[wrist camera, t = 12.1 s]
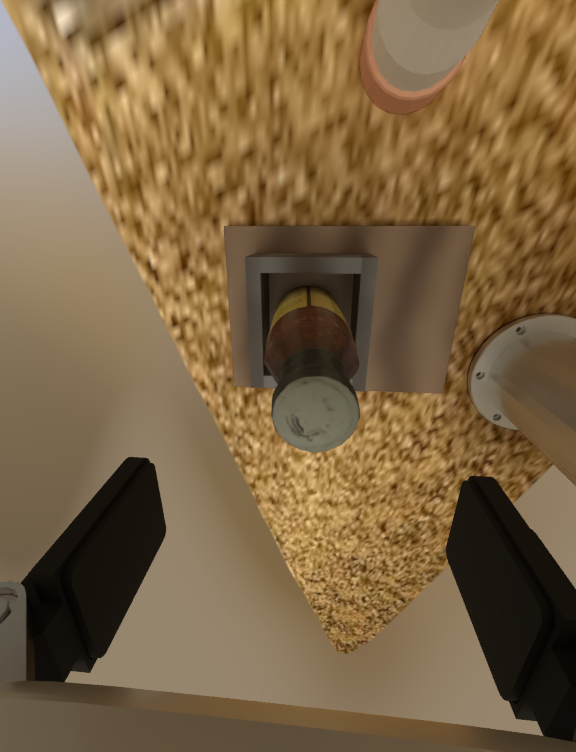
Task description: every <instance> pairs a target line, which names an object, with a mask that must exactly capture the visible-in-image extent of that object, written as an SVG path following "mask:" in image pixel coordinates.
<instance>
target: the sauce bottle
mask: <svg viewBox="0 0 576 752" xmlns="http://www.w3.org/2000/svg"><path fill="white" fill-rule="evenodd" d="M264 364H265V365H266V367H267V368H268V370H269V372H270V373H271V375H272V377H273V378H274V380H275V381H276V383H277V384H278V385H277V387H276V388H275V390H274V393H273V397H272V419H273V424H274V427H275V429H276V431H277V432H278V434H279V435H280V436H281V437H282V438H283V439H284V440H285V441H286V442H288V443H289V444H290V445H292V446H294V447H296V448H298V449H300V450H305V451H309V452H323V451H328V450H330V449H332V448H335V447H337V446H339V445H341V444H343V443H344V442H345V441H346V440H347V439H348V438H349V437H350V436H351V435H352V434H353V432H354V430H355V429H356V427H357V423H358V421H359V417H360V409H359V403H358V399H357V396H356V392H355V390H354V387H353V386H352V385H351V382H350V379H351V378H352V377H353V376H354V375H355V374H356V372H357V371H358V369H359V359H358V354H357V349H356V344H355V342H354V339H353V336H352V333H351V331H350V329H349V327H348V325H347V323H346V320H345V318H344V316H343V314H342V312H341V310H340V309H339V307H338V305H337V303H336V301H335V300H334V299H333V298H332V297H331V296H330V295H329V293H327V292H325V291H323V290H321V289H319V288H315V287H310V286H302V287H298V288H296V289H294V290H293V291H291V292H289V293H288V294H286V295H285V296H284V297H283V298H282V300H281V301H280V303H279V304H278V306H277V308H276V311H275V314H274V318H273V321H272V325H271V328H270V332H269V335H268V338H267V343H266V352H265V357H264Z"/></svg>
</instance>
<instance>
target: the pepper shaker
mask: <svg viewBox="0 0 576 752" xmlns="http://www.w3.org/2000/svg"><path fill="white" fill-rule="evenodd" d="M498 1H499V0H376V1H375V4H374V6H373V9H372V11H371V14H370V16H369V19H368V22H367V26H366V30H365V34H364V39H363V43H362V49H361V56H360V71H361V80H362V83H363V85H364V88H365V90H366V93H367V95H368V96H369V97H370V99H371V100H372V101H373V102H374V103H375V104H376V106H377V107H379V108H381V109H383V110H385V111H387V112H389V113H394V114H407V113H411V112H414V111H418V110H419V109H421V108H422V107H424V106H426V105H427V104H429V103H430V102H432V100H433V99H434V98H435V97H436V96H437V95H438V94H439V93H440V91H441V90H442V89H443V88H444V87H445V86H446V85H447V84H448V82H449V81H450V80H451V79H452V78H453V77H454V75H455V74H456V73H457V72H458V71H459V69H460V67H461V65H462V63H463V61H464V59H465V57H466V55H467V53H468V52H469V51H470V50H471V49H472V47H473V46H474V45H475V44H476V43H477V42H478V40H479V38H480V36H481V34H482V32H483V30H484V28H485V26H486V24H487V22H488V21H489V19H490V17H491V15H492V13H493V11H494V9H495V7H496V5H497V3H498Z"/></svg>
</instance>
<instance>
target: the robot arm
mask: <svg viewBox="0 0 576 752" xmlns="http://www.w3.org/2000/svg"><path fill="white" fill-rule="evenodd" d="M517 328H518V329H517ZM477 373H478V374H477ZM467 386H468V392H469V396H470V398H471V401H472V403H473V404H474V406H475V407H476V408H477V410H478V411H479V412H480V413H481V414H482V415H483V416H484V417H485V418H486V419H487V420H489V421H490V422H492V423H493V424H496V425H498V426H501V427H503V428H508V429H513V430H520V431H521V432H522V433H523V434H524V435H525V436H526V437H527V438H528V439H529V440H530V441H531V442H532V443H533V444H534V445H535V446H536V447H537V448H538V449H539V450H540V451H541V452H542V453H543V454H544V455H545V456H546V457H547V458H548V459H549V460H550V461H551V462H552V463H553V464H554V465H555V466H556V467H557V468H558V469H559V470H560V471H561V472H562V473H563V474H564V475H565V476H566V477H567V478H568V479H569V480H570V481H571V482H572V483H573V484H574V485H575V486H576V319H575V318H572V317H569V316H565V315H560V314H537V315H531V316H527V317H524V318H521V319H518V320H516V321H514V322H512V323H510V324H508V325H506V326H504V327H502V328H501V329H500V330H498V331H497V332H495V333H494V334H493V335H492V336H491V337H490V338H489V339H488V340H487V341H486V342H485V343H484V344H483V345H482V346H481V348H480V349H479V350H478V352H477V353H476V355H475V357H474V359H473V361H472V363H471V366H470V369H469V373H468V383H467ZM165 533H166V524H165V520H164V514H163V508H162V502H161V497H160V492H159V486H158V481H157V475H156V470H155V466H154V464H153V463H150V461H149V459H147V458H138V457H128V458H127V459H126V460H125V461H124V462H123V463H122V464H121V465H120V467H119V468H118V469H117V470H116V471H115V472H114V474H113V475H112V476H111V477H110V478H109V479H108V481H107V482H106V483H105V484H104V485H103V487H102V488H101V489H100V490H99V491H98V492H97V494H96V495H95V496H94V497H93V498H92V500H91V501H90V502H89V503H88V504H87V505H86V506H85V508H84V509H83V510H82V511H81V512H80V514H79V515H78V516H77V517H76V518H75V519H74V521H73V522H72V523H71V524H70V525H69V526H68V528H67V529H66V530H65V531H64V533H63V534H62V535H61V536H60V537H59V538H58V539H57V540H56V542H55V543H54V544H53V545H52V546H51V548H50V549H49V550H48V551H47V552H46V553H45V555H44V556H43V557H42V558H41V559H40V560H39V562H38V563H37V564H36V565H35V566H34V567H33V569H32V570H31V571H30V572H29V573H28V575H27V576H26V577H25V579H24V580H23V581H22V582H21V583H19V582H14V581H6V582H0V752H576V589H575V588H574V586H573V585H572V583H571V582H570V581H569V579H568V578H567V576H566V575H565V574H564V572H563V571H562V569H561V568H560V567H559V565H558V564H557V562H556V561H555V560H554V558H553V557H552V555H551V554H550V553H549V551H548V550H547V548H546V547H545V546H544V544H543V543H542V541H541V540H540V539H539V538H538V536H537V534H536V533H535V532H534V531H533V530H532V529H530V528H529V527H528V525H527V524H526V522H525V521H524V519H523V518H522V517H521V515H520V514H519V512H518V511H517V509H516V508H515V507H514V505H513V504H512V502H511V501H510V499H509V498H508V497H507V495H506V494H505V492H504V491H503V490H502V488H501V487H500V485H499V484H498V482H497V481H496V480H495V479H494V478H493V477H484V476H470V477H469V479H468V481H463V483H462V486H461V490H460V494H459V498H458V502H457V506H456V510H455V514H454V518H453V522H452V526H451V530H450V534H449V538H448V542H447V546H446V555H447V559H448V562H449V565H450V567H451V570H452V572H453V575H454V578H455V580H456V583H457V585H458V588H459V590H460V593H461V596H462V598H463V601H464V603H465V606H466V609H467V611H468V614H469V616H470V619H471V622H472V624H473V627H474V629H475V632H476V634H477V637H478V640H479V642H480V645H481V647H482V650H483V653H484V655H485V658H486V660H487V662H488V665H489V668H490V671H491V673H492V676H493V678H494V681H495V684H496V686H497V689H498V691H499V693H500V695H501V697H502V698H503V699H504V700H506V701H509V702H510V705H511V707H512V710H513V712H514V715H515V717H516V719H521V720H531V721H537V722H538V724H539V727H540V729H541V731H542V733H543V735H544V736H539V735H532V734H525V733H518V732H510V731H503V730H495V729H489V728H481V727H474V726H466V725H459V724H450V723H442V722H433V721H424V720H415V719H407V718H399V717H390V716H382V715H373V714H364V713H355V712H347V711H338V710H329V709H320V708H311V707H301V706H293V705H284V704H275V703H266V702H257V701H248V700H238V699H229V698H220V697H211V696H200V695H191V694H182V693H173V692H163V691H153V690H144V689H133V688H125V687H114V686H103V685H90V684H78V683H66V682H65V680H66V678H67V677H68V675H69V673H70V671H78V672H87V673H90V672H91V670H92V668H93V666H94V664H95V662H96V660H97V658H101V657H103V656H104V655H105V653H106V652H107V650H108V648H109V646H110V644H111V642H112V640H113V638H114V636H115V634H116V632H117V630H118V628H119V626H120V624H121V622H122V620H123V618H124V616H125V614H126V613H127V610H128V608H129V607H130V605H131V603H132V601H133V599H134V596H135V595H136V593H137V591H138V589H139V587H140V585H141V583H142V581H143V579H144V577H145V575H146V573H147V571H148V569H149V567H150V565H151V563H152V561H153V559H154V557H155V555H156V553H157V551H158V549H159V548H160V546H161V544H162V542H163V539H164V537H165Z"/></svg>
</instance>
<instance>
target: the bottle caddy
mask: <svg viewBox="0 0 576 752" xmlns="http://www.w3.org/2000/svg"><path fill="white" fill-rule="evenodd" d="M474 230H475V226H224V237H225V252H226V267H227V282H228V296H229V311H230V326H231V341H232V356H233V371H234V386H237V387H252V388H276V387H277V385H278V384H277V383H276V381H275V380H274V378H273V377H272V375H271V373H270V372H269V370H268V368H267V367H266V365H265V364H264V357H265V352H266V343H267V338H268V335H269V332H270V328H271V325H272V321H273V318H274V314H275V311H276V308H277V306H278V304H279V303H280V301H281V300H282V298H283V297H284V296H285V295H286V294H288V293H289V292H291V291H293V290H294V289H296V288H298V287H302V286H310V287H315V288H319V289H321V290H323V291H325V292H327V293H329V295H330V296H331V297H332V298H333V299H334V300H335V301H336V303H337V305H338V307H339V309H340V310H341V312H342V314H343V316H344V318H345V320H346V323H347V325H348V327H349V329H350V331H351V333H352V336H353V339H354V342H355V344H356V349H357V354H358V359H359V369H358V371H357V372H356V374H355V375H354V376H353V377H352V378H351V379H350V382H351V385H352V386H353V387H354V390H355V391H388V392H418V393H443V388H444V383H445V378H446V373H447V368H448V363H449V358H450V352H451V347H452V342H453V337H454V332H455V327H456V322H457V317H458V312H459V307H460V302H461V296H462V291H463V286H464V281H465V276H466V271H467V266H468V261H469V256H470V251H471V246H472V240H473V235H474Z"/></svg>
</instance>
